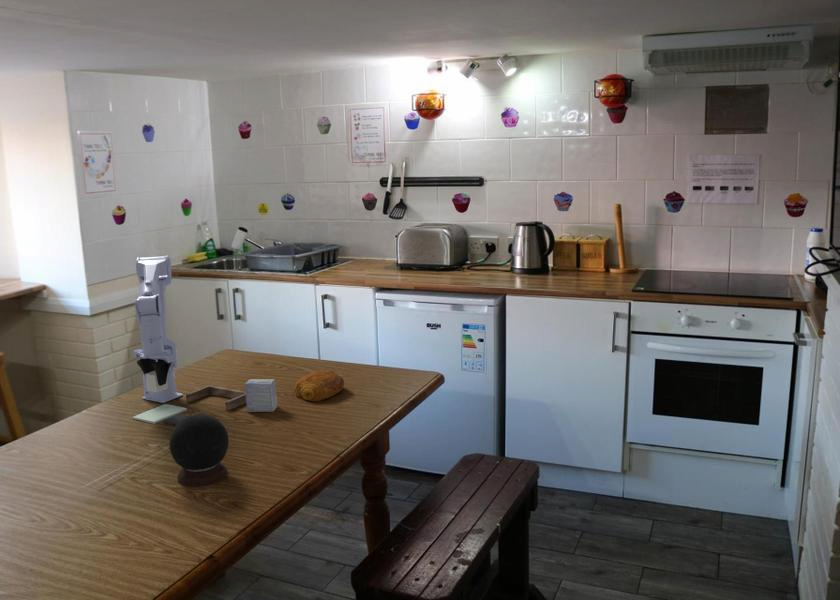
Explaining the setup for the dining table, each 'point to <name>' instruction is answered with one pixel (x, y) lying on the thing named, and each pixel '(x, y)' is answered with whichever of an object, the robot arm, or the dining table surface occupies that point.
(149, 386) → the cream block
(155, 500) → the dining table surface
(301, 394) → the croissant
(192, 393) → the brown u-shaped bracket
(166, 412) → the pad
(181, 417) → the trap tile
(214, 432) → the black smart speaker
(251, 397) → the medicine box
